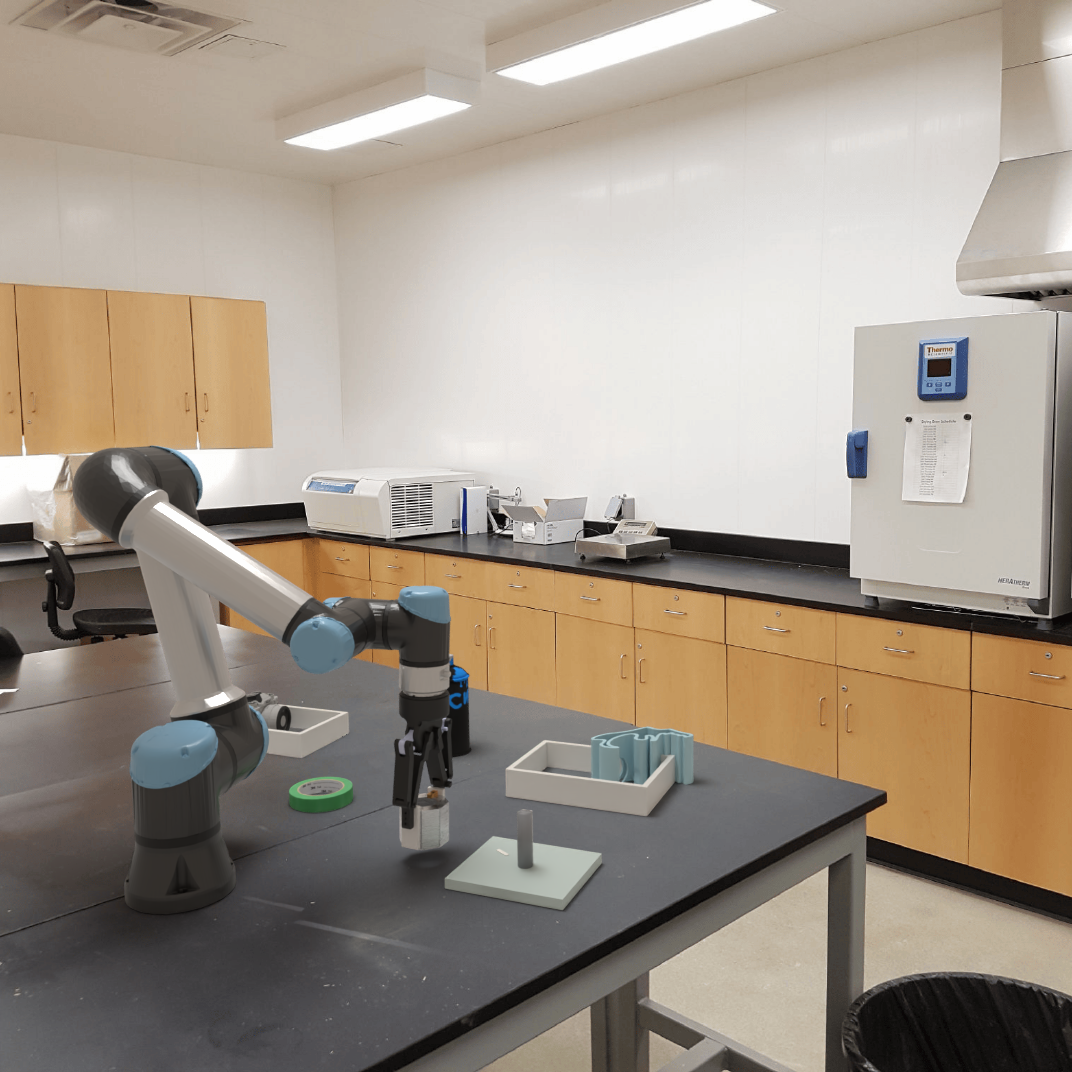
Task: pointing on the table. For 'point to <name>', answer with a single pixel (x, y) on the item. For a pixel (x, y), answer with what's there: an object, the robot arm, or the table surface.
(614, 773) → the light blue curvy piece
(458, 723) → the aerosol can
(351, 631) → the robot arm
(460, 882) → the peg stand
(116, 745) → the table surface
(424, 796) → the grey piece
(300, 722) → the camera corral
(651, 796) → the dispenser corral
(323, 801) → the tape roll
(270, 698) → the camera
